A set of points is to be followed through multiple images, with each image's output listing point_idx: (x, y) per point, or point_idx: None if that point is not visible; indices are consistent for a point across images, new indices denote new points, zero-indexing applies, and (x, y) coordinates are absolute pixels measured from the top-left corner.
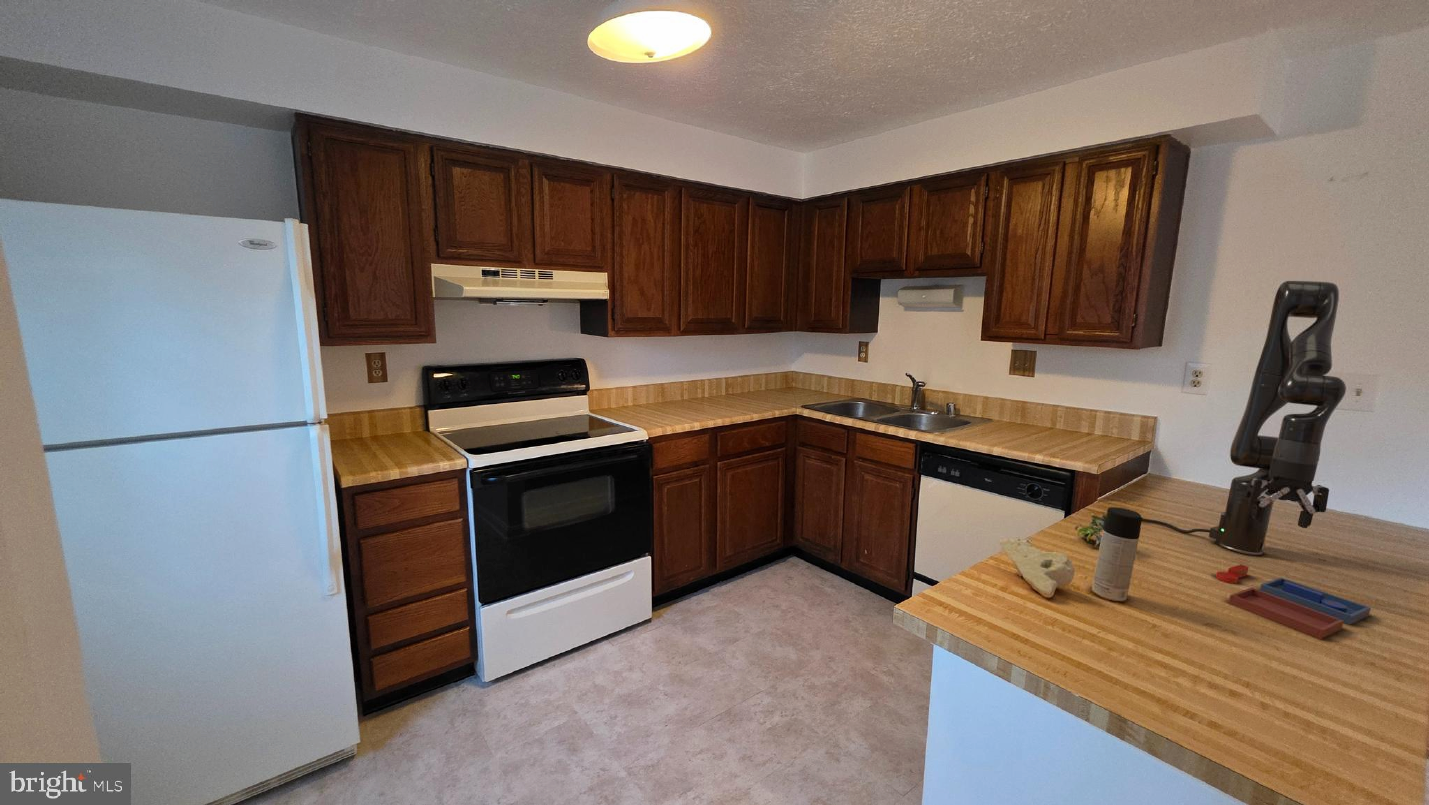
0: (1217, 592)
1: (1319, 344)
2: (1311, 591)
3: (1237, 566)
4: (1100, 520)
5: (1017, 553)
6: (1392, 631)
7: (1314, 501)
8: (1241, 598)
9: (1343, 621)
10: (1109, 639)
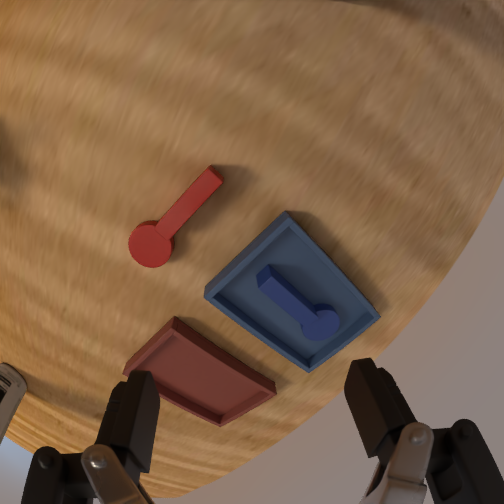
0: (116, 326)
1: None
2: (295, 318)
3: (186, 197)
4: None
5: None
6: (361, 350)
7: (461, 473)
8: None
9: (276, 394)
10: (43, 436)
